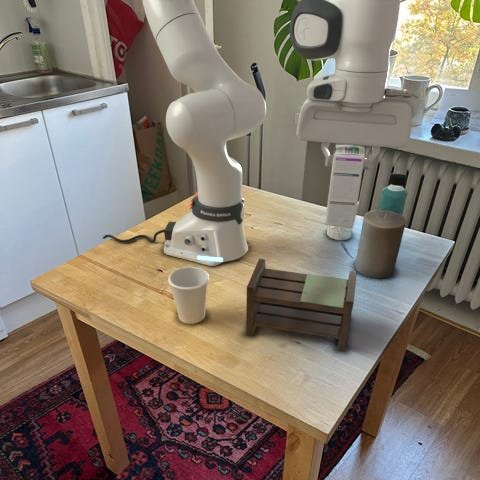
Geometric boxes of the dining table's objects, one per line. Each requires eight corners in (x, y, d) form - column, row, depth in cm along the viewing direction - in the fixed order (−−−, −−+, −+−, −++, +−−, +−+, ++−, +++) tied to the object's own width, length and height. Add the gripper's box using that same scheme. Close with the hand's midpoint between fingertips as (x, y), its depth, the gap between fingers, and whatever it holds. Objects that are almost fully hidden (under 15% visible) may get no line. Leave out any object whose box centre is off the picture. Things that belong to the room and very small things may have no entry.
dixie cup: (168, 309, 100) (163, 270, 94) (204, 301, 102) (202, 263, 96) (178, 331, 94) (173, 291, 88) (216, 322, 96) (214, 283, 90)
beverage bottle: (366, 241, 125) (381, 169, 112) (390, 240, 125) (406, 169, 113) (374, 253, 119) (390, 179, 107) (398, 252, 120) (417, 178, 108)
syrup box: (353, 228, 90) (367, 155, 81) (323, 225, 91) (334, 152, 82) (353, 216, 95) (366, 145, 86) (325, 213, 96) (335, 143, 87)
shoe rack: (245, 335, 93) (246, 287, 85) (257, 304, 101) (259, 258, 94) (344, 351, 89) (353, 302, 82) (347, 318, 97) (356, 271, 90)
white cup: (357, 233, 129) (363, 199, 122) (346, 244, 123) (352, 210, 117) (331, 226, 132) (336, 193, 126) (320, 236, 127) (324, 203, 120)
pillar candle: (402, 271, 112) (416, 215, 103) (373, 283, 108) (386, 226, 99) (373, 255, 119) (385, 201, 110) (346, 265, 115) (355, 210, 105)
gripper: (421, 86, 78) (402, 166, 87) (303, 80, 82) (297, 157, 90) (423, 94, 73) (404, 178, 82) (298, 87, 77) (292, 168, 86)
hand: (347, 167), depth 86 cm, fingers closed on syrup box, 6 cm apart
